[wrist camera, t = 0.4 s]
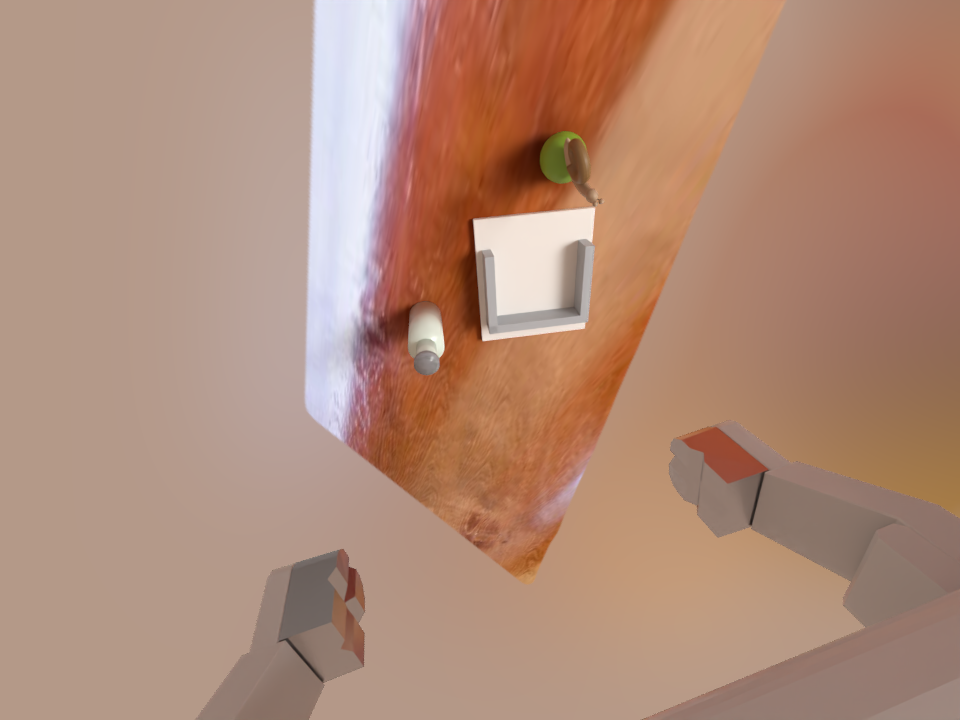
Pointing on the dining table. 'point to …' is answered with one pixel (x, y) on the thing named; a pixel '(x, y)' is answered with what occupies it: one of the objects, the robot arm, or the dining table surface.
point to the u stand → (534, 272)
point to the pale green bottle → (425, 337)
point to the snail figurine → (568, 163)
